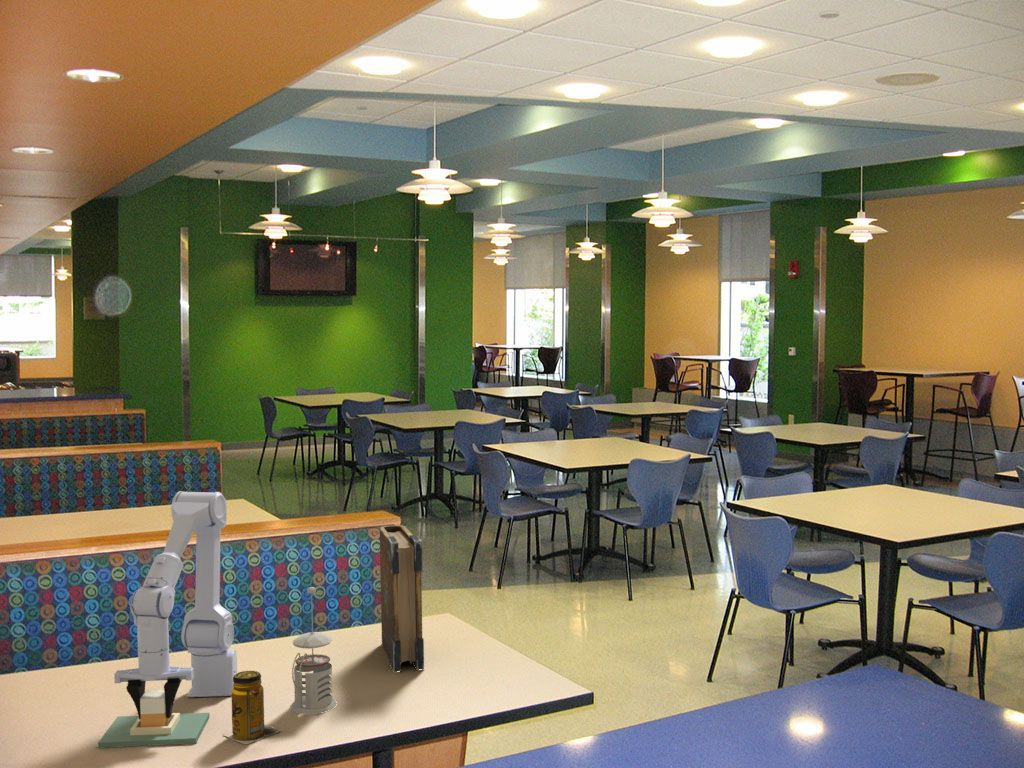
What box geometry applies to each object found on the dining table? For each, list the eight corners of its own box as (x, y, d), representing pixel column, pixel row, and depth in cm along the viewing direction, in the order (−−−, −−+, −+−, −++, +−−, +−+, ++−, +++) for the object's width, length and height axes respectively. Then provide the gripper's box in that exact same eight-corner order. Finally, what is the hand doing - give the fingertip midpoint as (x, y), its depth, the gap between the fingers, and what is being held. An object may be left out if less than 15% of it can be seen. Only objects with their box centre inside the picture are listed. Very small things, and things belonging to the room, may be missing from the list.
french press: (346, 699, 217) (344, 583, 216) (318, 719, 206) (316, 597, 205) (305, 694, 221) (302, 579, 219) (275, 714, 210) (273, 593, 208)
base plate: (209, 717, 208) (209, 706, 208) (196, 743, 195) (195, 731, 195) (117, 721, 206) (117, 710, 206) (98, 747, 194) (97, 736, 193)
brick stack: (170, 719, 203) (169, 689, 203) (164, 728, 199) (164, 698, 198) (146, 720, 203) (145, 690, 202) (140, 729, 198) (140, 699, 198)
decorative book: (424, 670, 236) (422, 540, 234) (393, 673, 234) (391, 542, 232) (406, 640, 258) (405, 521, 257) (378, 642, 256) (376, 523, 255)
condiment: (223, 736, 199) (221, 675, 198) (259, 722, 205) (258, 663, 205) (245, 745, 194) (244, 683, 193) (282, 732, 201) (281, 671, 200)
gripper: (108, 656, 195) (111, 726, 196) (187, 653, 197) (189, 723, 197) (119, 644, 202) (121, 712, 203) (195, 642, 204) (196, 709, 204)
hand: (155, 716), depth 201 cm, fingers closed on brick stack, 4 cm apart
